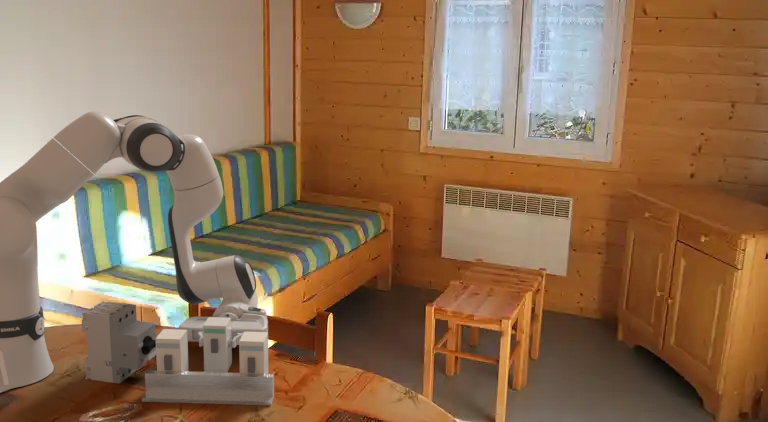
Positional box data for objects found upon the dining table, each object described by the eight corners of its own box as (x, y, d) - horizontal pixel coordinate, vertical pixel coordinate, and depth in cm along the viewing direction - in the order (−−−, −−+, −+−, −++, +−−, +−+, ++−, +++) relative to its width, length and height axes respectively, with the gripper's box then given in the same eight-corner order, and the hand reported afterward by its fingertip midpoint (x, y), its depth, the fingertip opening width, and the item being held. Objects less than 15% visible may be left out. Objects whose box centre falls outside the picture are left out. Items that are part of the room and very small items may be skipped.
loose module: (203, 373, 155) (201, 326, 152) (210, 362, 160) (208, 317, 158) (226, 374, 155) (225, 327, 152) (232, 363, 160) (231, 317, 158)
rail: (141, 401, 142) (140, 378, 141) (148, 392, 146) (147, 370, 144) (270, 405, 142) (270, 382, 141) (274, 396, 146) (273, 374, 144)
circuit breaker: (146, 387, 148) (143, 319, 145) (85, 379, 151) (80, 312, 147) (164, 371, 155) (161, 307, 152) (105, 364, 158) (101, 301, 155)
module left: (156, 394, 145) (154, 340, 142) (165, 381, 150) (163, 329, 148) (181, 395, 145) (179, 340, 142) (189, 382, 150) (187, 329, 148)
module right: (239, 397, 145) (238, 342, 142) (245, 384, 150) (244, 331, 148) (263, 397, 145) (263, 343, 142) (268, 384, 150) (268, 332, 148)
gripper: (187, 307, 168) (169, 329, 155) (272, 309, 168) (262, 332, 155) (187, 331, 170) (170, 355, 156) (272, 334, 170) (262, 358, 156)
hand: (216, 344), depth 156 cm, fingers closed on loose module, 5 cm apart
